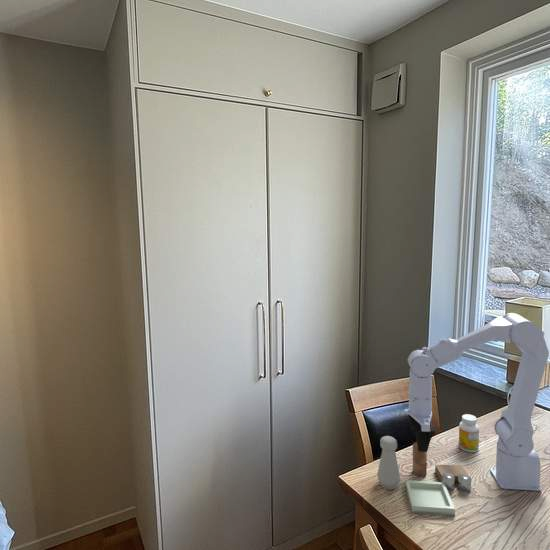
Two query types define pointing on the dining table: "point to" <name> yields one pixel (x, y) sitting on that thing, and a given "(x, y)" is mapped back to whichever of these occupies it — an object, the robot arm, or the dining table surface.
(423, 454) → the dowel
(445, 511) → the tray
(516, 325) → the robot arm
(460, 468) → the wooden block
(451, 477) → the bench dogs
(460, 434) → the supplement bottle
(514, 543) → the dining table surface
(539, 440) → the dining table surface
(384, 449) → the salt shaker
